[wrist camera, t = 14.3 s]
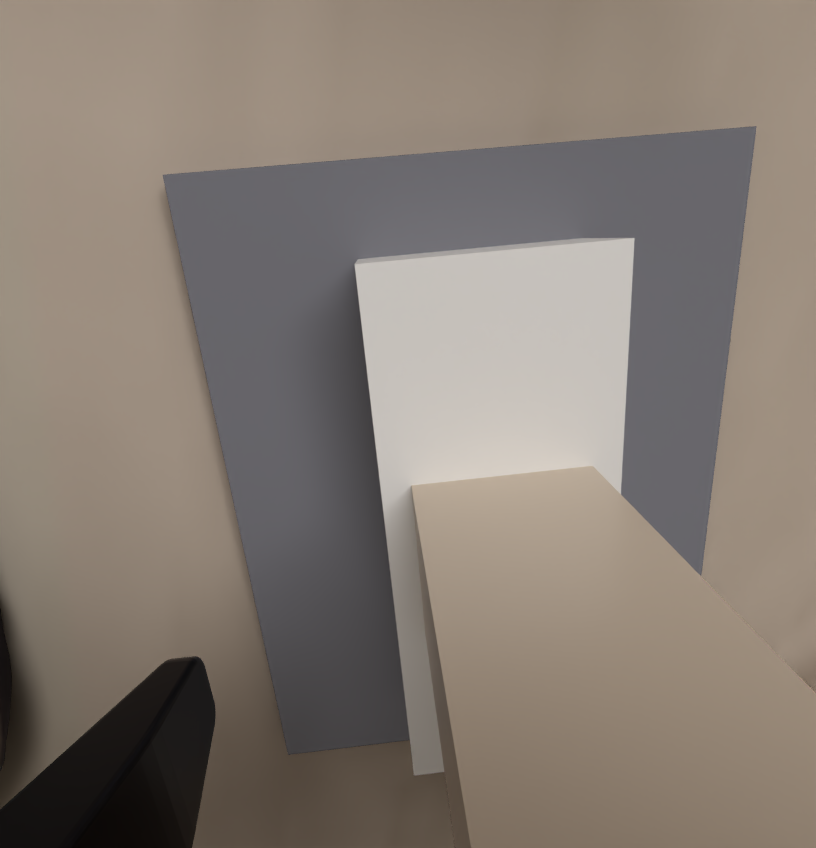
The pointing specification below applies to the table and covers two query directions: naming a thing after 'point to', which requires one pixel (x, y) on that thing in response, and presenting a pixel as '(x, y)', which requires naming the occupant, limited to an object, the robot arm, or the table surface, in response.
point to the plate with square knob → (559, 574)
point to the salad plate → (4, 692)
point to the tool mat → (348, 382)
